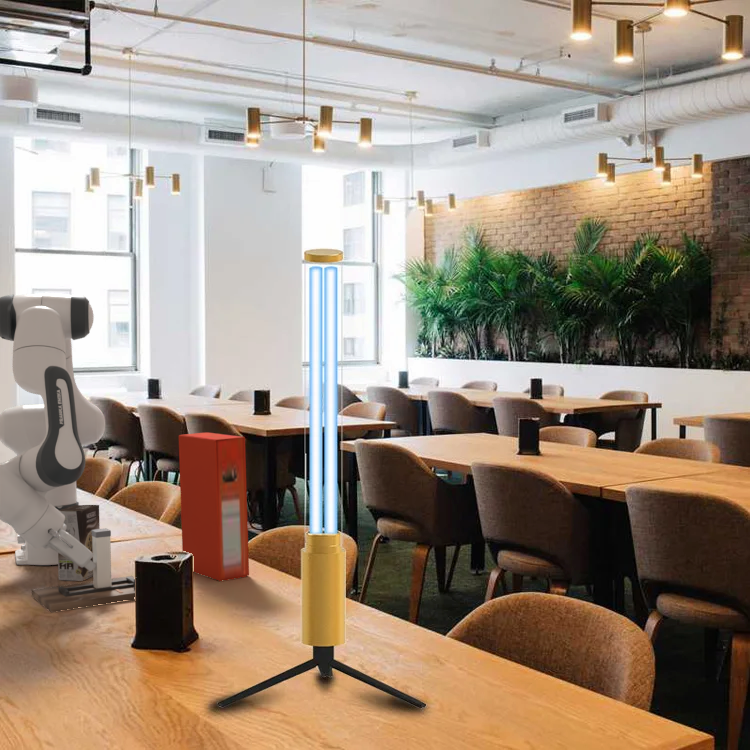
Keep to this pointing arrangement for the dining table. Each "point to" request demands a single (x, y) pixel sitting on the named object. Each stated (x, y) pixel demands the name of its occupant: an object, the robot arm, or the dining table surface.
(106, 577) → the fader tab
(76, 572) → the coffee box
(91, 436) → the robot arm
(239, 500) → the file binder
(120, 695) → the dining table surface
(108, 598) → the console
